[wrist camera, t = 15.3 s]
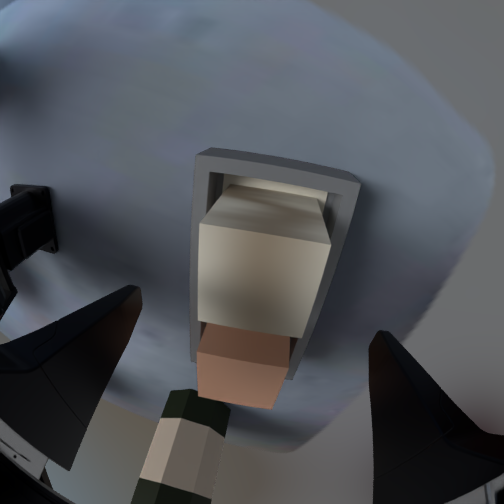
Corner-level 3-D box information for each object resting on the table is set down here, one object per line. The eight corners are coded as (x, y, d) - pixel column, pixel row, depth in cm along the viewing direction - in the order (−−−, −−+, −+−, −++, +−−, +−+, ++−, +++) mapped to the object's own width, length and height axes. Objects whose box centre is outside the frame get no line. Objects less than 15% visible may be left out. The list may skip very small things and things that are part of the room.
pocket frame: (199, 336, 23) (190, 361, 21) (211, 147, 16) (195, 154, 13) (292, 353, 23) (292, 380, 20) (348, 171, 15) (361, 183, 13)
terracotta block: (216, 335, 21) (198, 396, 16) (220, 287, 19) (196, 351, 14) (277, 346, 21) (271, 409, 16) (290, 300, 19) (289, 368, 14)
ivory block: (223, 258, 18) (197, 320, 13) (230, 183, 15) (199, 223, 10) (299, 271, 18) (301, 338, 12) (316, 197, 15) (331, 245, 10)
